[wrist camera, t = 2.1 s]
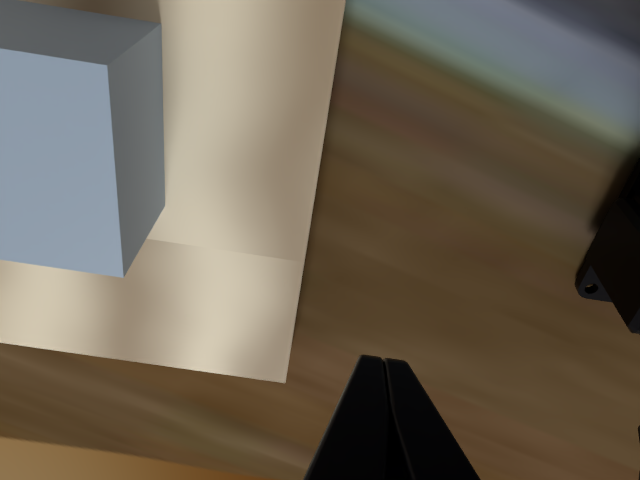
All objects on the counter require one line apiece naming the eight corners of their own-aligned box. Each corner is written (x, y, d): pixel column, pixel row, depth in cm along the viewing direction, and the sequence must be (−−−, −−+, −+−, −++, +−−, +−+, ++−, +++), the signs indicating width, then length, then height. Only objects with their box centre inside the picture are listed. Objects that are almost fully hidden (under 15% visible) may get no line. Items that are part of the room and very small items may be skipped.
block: (161, 23, 15) (107, 65, 12) (165, 205, 19) (123, 277, 15) (-55, -12, 15) (-171, 21, 12) (-12, 179, 18) (-93, 246, 15)
